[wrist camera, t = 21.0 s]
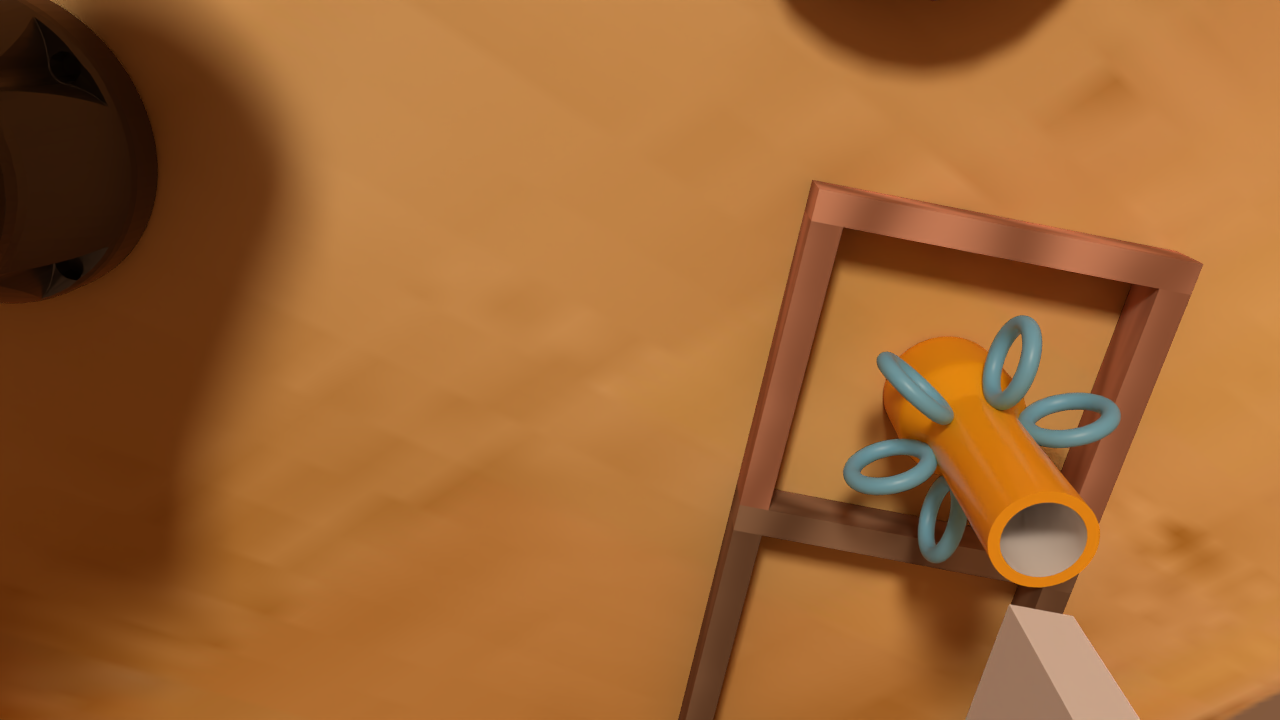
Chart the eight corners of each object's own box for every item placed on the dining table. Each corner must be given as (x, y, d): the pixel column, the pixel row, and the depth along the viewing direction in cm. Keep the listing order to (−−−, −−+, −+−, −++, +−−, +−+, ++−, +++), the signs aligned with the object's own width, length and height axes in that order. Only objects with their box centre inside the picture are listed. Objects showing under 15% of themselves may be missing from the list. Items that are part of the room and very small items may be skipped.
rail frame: (672, 745, 57) (671, 776, 55) (812, 180, 46) (819, 188, 43) (963, 797, 58) (975, 831, 55) (1177, 251, 46) (1203, 264, 44)
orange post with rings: (1043, 259, 46) (1198, 365, 32) (1078, 445, 50) (1233, 615, 36) (798, 329, 48) (845, 458, 34) (848, 504, 51) (909, 689, 37)
